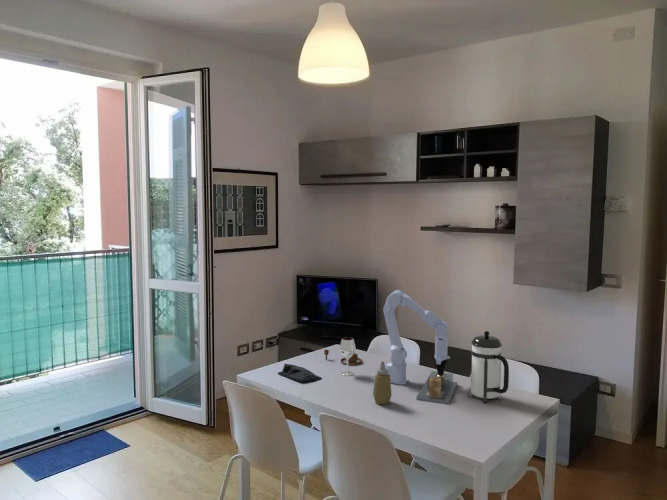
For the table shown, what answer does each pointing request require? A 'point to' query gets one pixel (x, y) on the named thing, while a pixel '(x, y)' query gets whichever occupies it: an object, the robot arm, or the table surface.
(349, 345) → the wineglass
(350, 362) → the place setting
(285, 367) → the dark grey cloth
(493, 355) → the coffee press
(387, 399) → the squeeze bottle
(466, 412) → the table surface
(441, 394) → the base
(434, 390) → the oak block
